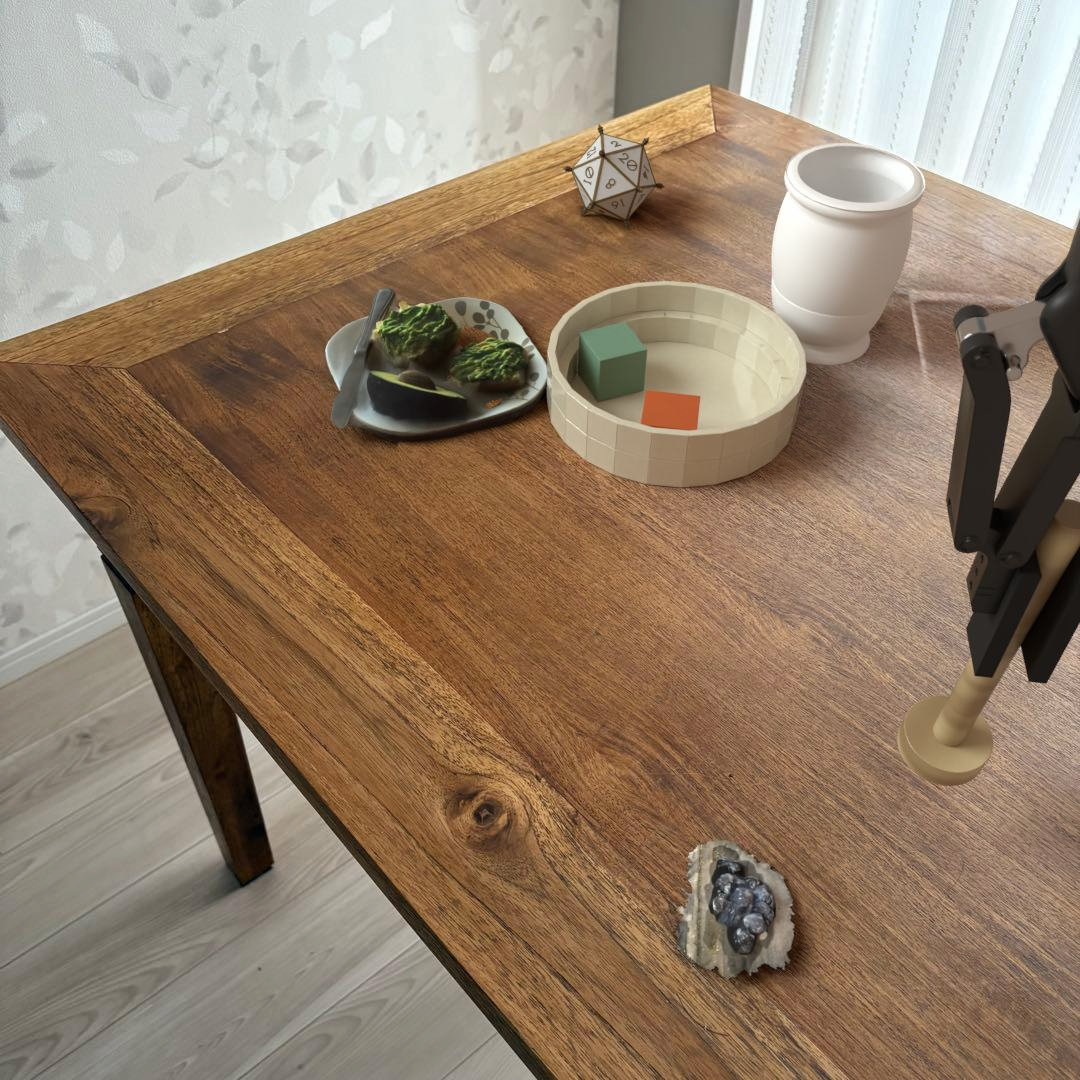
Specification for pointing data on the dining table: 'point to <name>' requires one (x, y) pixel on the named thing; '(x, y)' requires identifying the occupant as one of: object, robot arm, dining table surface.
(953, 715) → the stand
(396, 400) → the salad plate
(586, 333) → the sage block
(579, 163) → the game die
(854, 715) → the dining table surface
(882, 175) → the jar
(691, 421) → the rust block
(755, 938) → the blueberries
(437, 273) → the dining table surface
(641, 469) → the bowl
